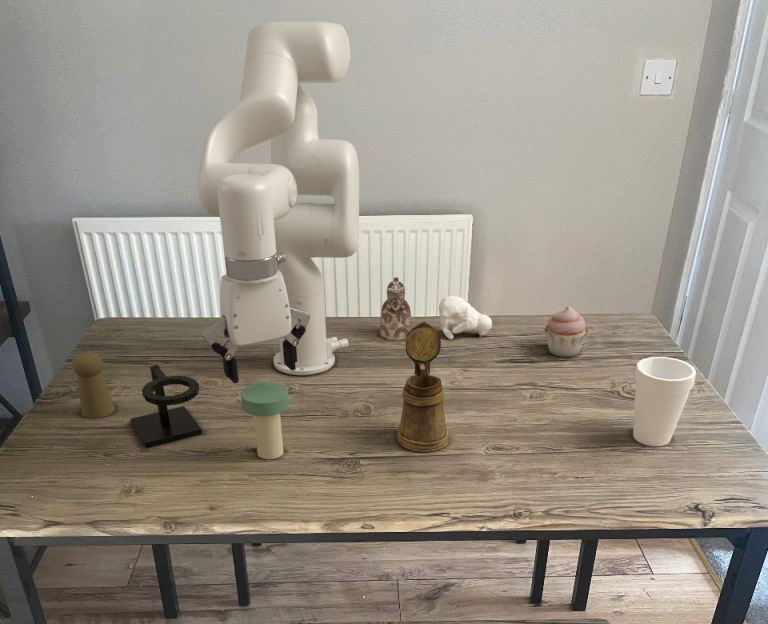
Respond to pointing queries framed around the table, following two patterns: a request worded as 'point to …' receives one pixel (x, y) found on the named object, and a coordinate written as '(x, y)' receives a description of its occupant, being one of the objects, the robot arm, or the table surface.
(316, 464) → the table surface
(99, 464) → the table surface
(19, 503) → the table surface
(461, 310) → the white animal statue
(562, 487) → the table surface
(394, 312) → the figurine
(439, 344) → the wooden mug
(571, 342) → the cupcake
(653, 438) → the foam cup
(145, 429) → the holder
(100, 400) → the tan pawn
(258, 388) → the canister
